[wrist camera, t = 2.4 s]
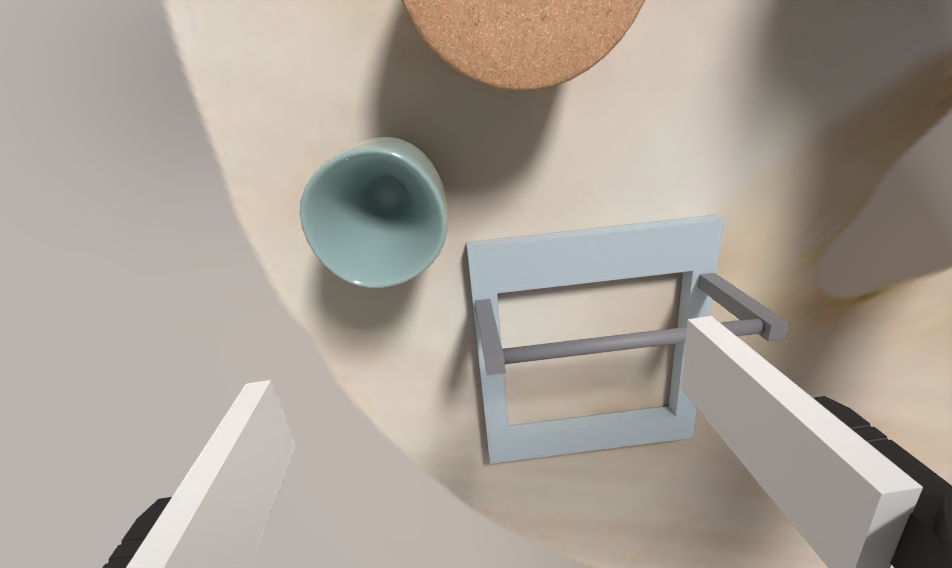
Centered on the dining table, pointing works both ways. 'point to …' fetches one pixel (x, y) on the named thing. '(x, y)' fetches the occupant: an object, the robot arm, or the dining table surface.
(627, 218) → the dining table surface
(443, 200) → the cup
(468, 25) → the lidded bowl
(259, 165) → the dining table surface
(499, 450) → the towel rail frame
